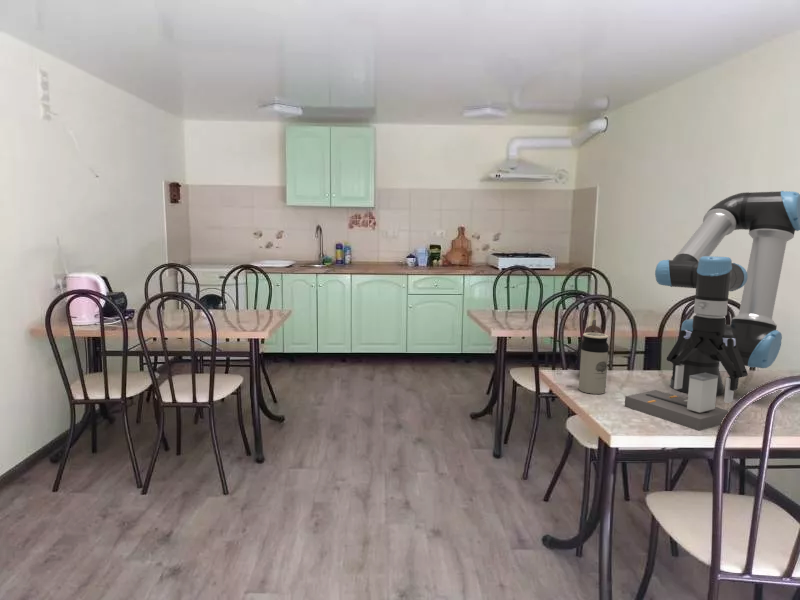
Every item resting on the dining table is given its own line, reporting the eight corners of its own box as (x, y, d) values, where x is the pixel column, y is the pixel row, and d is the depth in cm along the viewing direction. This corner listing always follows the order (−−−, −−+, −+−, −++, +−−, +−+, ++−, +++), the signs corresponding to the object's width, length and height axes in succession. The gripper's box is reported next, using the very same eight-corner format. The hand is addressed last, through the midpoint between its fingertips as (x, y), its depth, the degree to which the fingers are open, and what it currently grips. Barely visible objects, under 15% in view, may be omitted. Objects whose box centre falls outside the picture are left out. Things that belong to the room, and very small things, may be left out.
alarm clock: (579, 371, 199) (583, 316, 196) (600, 373, 196) (604, 317, 193) (576, 381, 185) (580, 322, 183) (599, 383, 182) (603, 324, 180)
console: (624, 406, 159) (625, 395, 158) (654, 399, 166) (655, 389, 166) (699, 430, 140) (700, 418, 140) (729, 422, 147) (730, 410, 147)
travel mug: (574, 387, 177) (578, 332, 175) (598, 387, 178) (602, 332, 176) (585, 394, 169) (589, 337, 167) (609, 394, 170) (614, 337, 168)
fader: (686, 408, 146) (689, 375, 145) (702, 405, 150) (705, 372, 149) (699, 412, 143) (702, 378, 142) (715, 408, 147) (718, 375, 146)
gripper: (657, 310, 152) (650, 384, 155) (752, 324, 131) (743, 410, 134) (673, 308, 156) (667, 381, 159) (769, 322, 135) (759, 406, 138)
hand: (702, 395), depth 146 cm, fingers open, 13 cm apart
